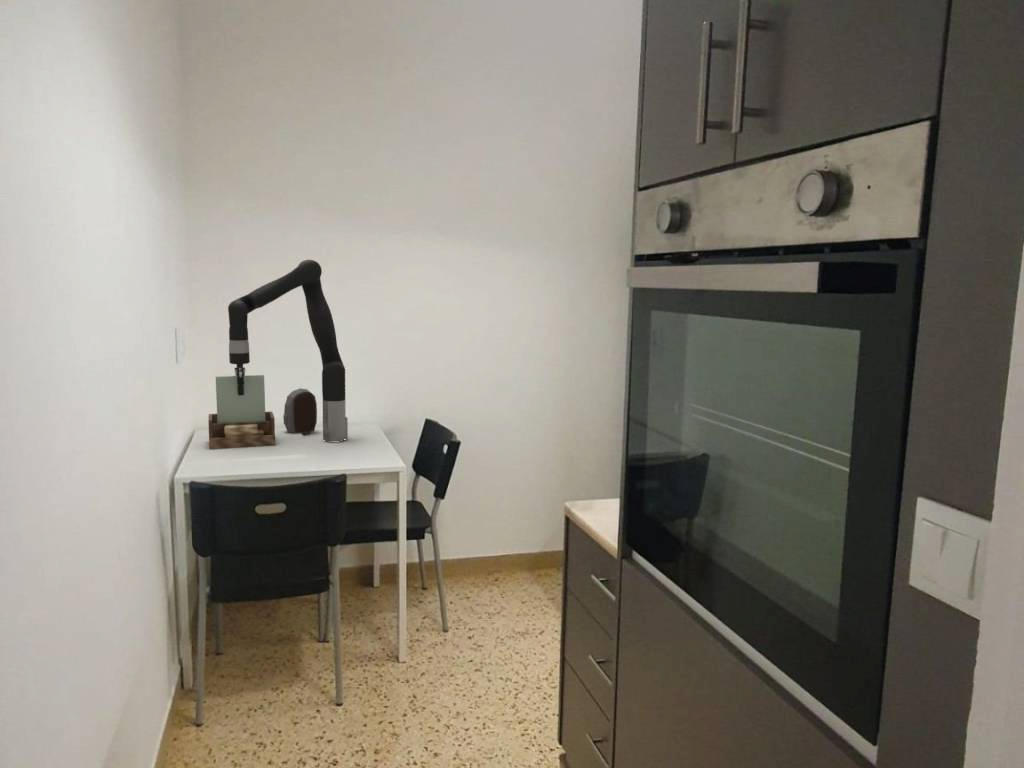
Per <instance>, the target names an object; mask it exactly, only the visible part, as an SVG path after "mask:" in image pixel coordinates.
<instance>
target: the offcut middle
mask: <svg viewBox="0 0 1024 768" xmlns="http://www.w3.org/2000/svg"><path fill="white" fill-rule="evenodd" d="M263 435H264V432H263V430H258V432H257V433H246V434H225V438H226V437H245V436H263Z"/></svg>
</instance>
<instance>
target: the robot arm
mask: <svg viewBox="0 0 1024 768" xmlns="http://www.w3.org/2000/svg"><path fill="white" fill-rule="evenodd" d="M322 271H323V270H322V266H321V265H320V263H319V262H318V261H315V260H313V259H305V260H302V261H301V262H300V263H299V264H298V265H297V266H296V267H295V268H294V269H292V270H291V271H289V272H288V273H286V274H285V275H282V276H281V277H279V278H277V279H274V280H272V281H270V282H267V283H266V284H264V285H261V286H260V287H257V288H256V289H254V290H253V291H251V292H249V293H248V294H245V295H244V296H241V297H239V298H236V299H234V300H232V301H231V302H230V303H229V305H228V307H227V310H228V311H227V313H228V321H229V322H228V323H229V328H228V336H229V339H228V340H229V341H228V343H229V344H228V357H229V359H228V361H229V364H231V365H236V367H234V373H235V375H234V376H236V380H237V386H238V395H244V380H245V376H246V367H244V365H247V364H250V362H251V361H250V360H251V359H250V358H251V357H250V356H251V355H250V343H249V342H250V341H249V329H248V314H250V313H251V312H253V311H255V310H257V309H260V308H261V309H262V308H263V307H264V306H267V305H268V304H270V303H272V302H274V301H275V300H277V299H279V298H281V297H282V296H284V295H285V294H287V293H289V292H291V291H292V290H294V289H297V288H298V287H302V290H303V295H304V297H305V304H306V311H307V315H308V316H307V317H308V320H309V326H310V328H311V333H312V335H313V338H314V340H315V343H316V345H317V347H318V349H319V353H320V358H321V363H322V371H321V384H322V385H321V387H322V388H321V393H322V441H323V440H325V441H324V442H326V441H341V440H344V439H348V432H349V431H348V429H349V428H348V421H349V419H348V417H347V416H346V413H347V412H346V367H345V365H344V362H343V360H342V358H341V355H340V352H339V348H338V341H337V335H336V328H335V322H334V320H333V315H332V313H331V309H330V307H329V303H328V301H327V299H326V298H325V295H324V292H323V291H324V290H323V288H322V287H323V286H322V282H321V277H322ZM239 381H242V382H239ZM341 442H342V441H341Z"/></svg>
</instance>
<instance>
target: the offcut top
mask: <svg viewBox="0 0 1024 768" xmlns="http://www.w3.org/2000/svg"><path fill="white" fill-rule="evenodd" d="M224 430H225V434H246V433H257V432H258V429H257V424H248V425H225V428H224Z"/></svg>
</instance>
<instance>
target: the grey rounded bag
mask: <svg viewBox="0 0 1024 768" xmlns="http://www.w3.org/2000/svg"><path fill="white" fill-rule="evenodd" d="M317 407H318V405H317V399H316V395H314V394H313V393H312V392H311V391H310V390H309V389H308V388H302V387H301V388H298V389H295V390H293V391H291V392H290V393H289V394H288V395H287V396H286V400H285V403H284V411H283V415H282V417H283V418H282V419H283V425H284V427H285V429H286V431H287V432H288V433H290V434H301V435H306V434H310V433H314V432H315V430H316V425H317V422H318V408H317Z"/></svg>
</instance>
